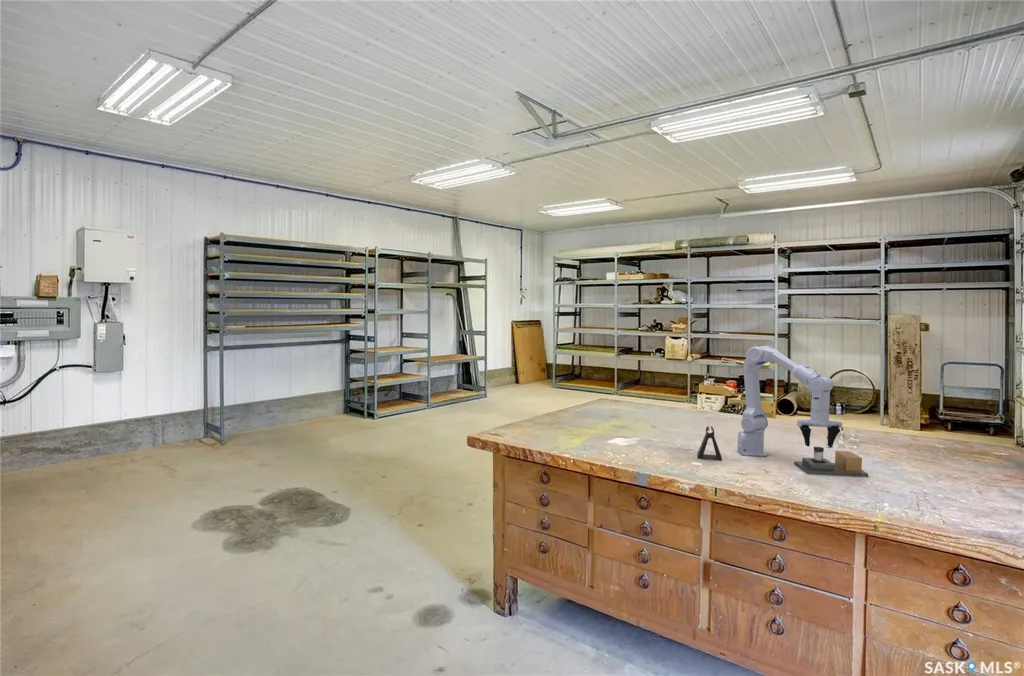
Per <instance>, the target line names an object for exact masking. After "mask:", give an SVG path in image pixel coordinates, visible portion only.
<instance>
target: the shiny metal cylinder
mask: <svg viewBox="0 0 1024 676" xmlns="http://www.w3.org/2000/svg"><path fill="white" fill-rule="evenodd" d="M824 450H825V449H824V447H822V446H813V458H814V463H823V459H824V452H825V451H824Z"/></svg>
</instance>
